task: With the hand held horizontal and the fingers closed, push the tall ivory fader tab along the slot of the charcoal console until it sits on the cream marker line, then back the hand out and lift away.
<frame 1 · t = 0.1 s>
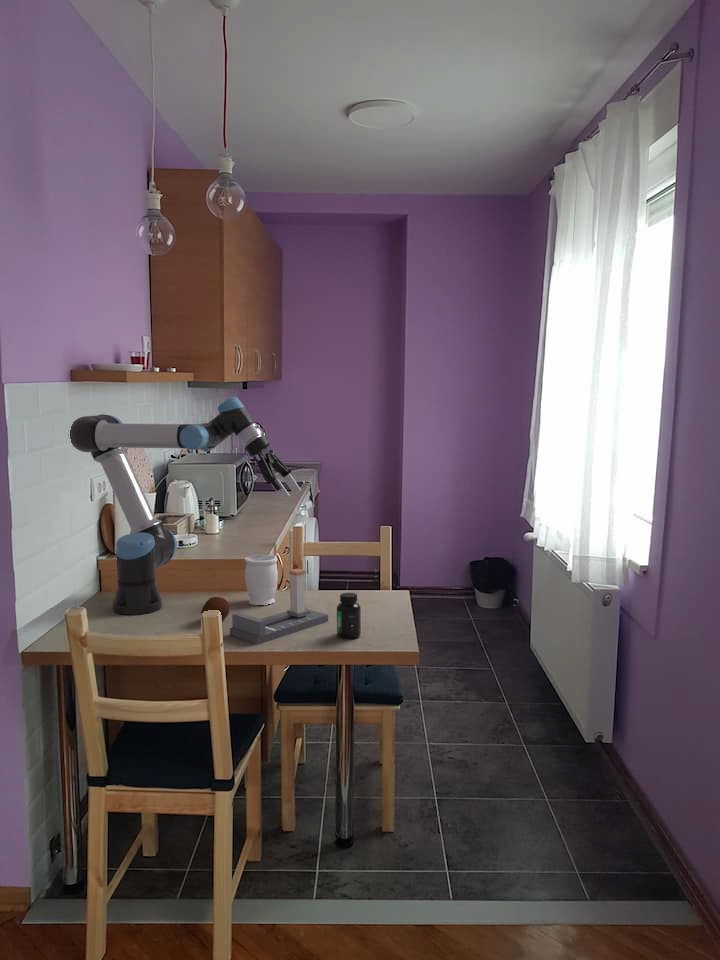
hand: (292, 495, 250), 36 cm above the table, tool tilted 35°, fingers open, 13 cm apart
fader: (297, 592, 234), point 9 cm above the table, slide at 0.0 cm
jar: (261, 603, 256), on the table
supplement bottle: (348, 636, 223), on the table
console: (280, 627, 230), on the table
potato: (216, 622, 236), on the table
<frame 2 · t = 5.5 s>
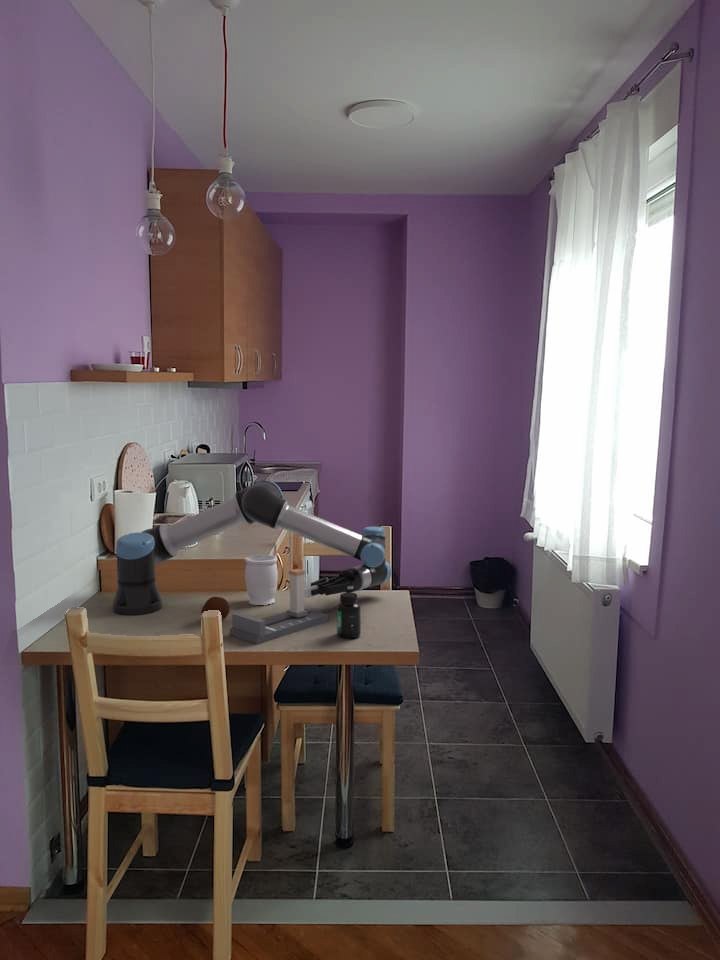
hand: (301, 594, 235), 8 cm above the table, tool horizontal, fingers closed
fader: (296, 592, 234), point 9 cm above the table, slide at 0.1 cm, touching gripper
everything else where it was.
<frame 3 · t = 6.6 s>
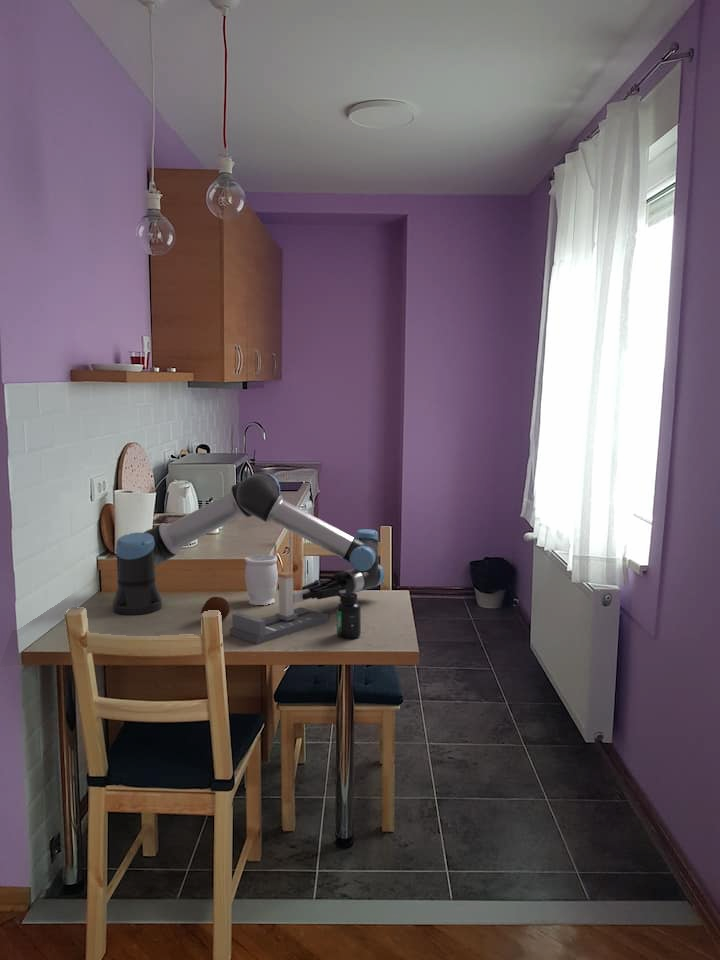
hand: (292, 598, 231), 8 cm above the table, tool horizontal, fingers closed
fader: (286, 595, 230), point 9 cm above the table, slide at 4.5 cm, touching gripper
everything else where it was.
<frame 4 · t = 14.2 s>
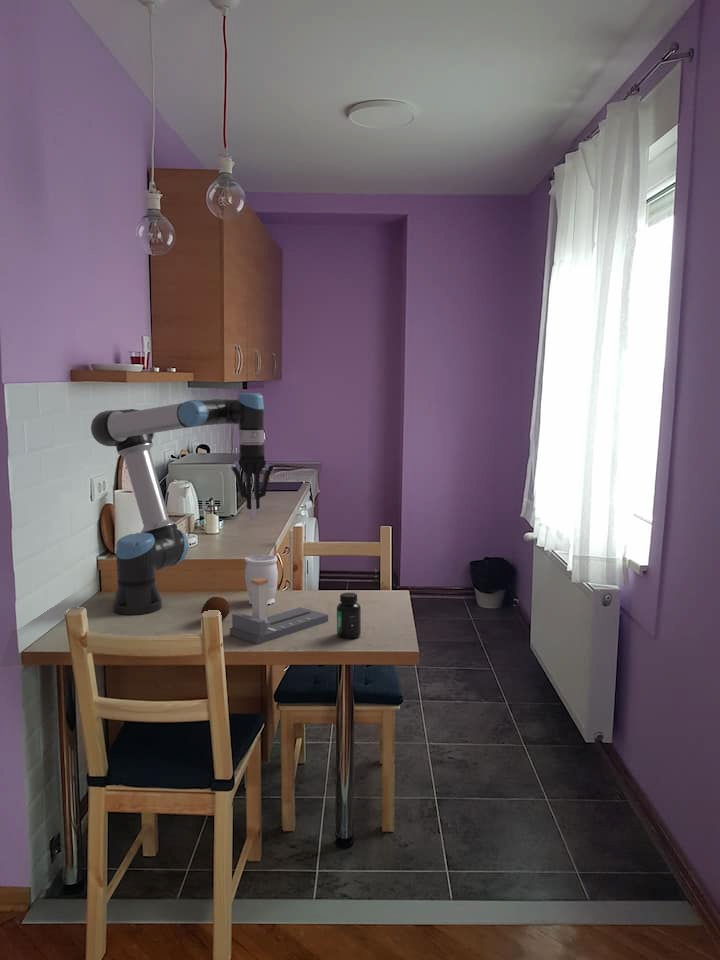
hand: (253, 519, 243), 29 cm above the table, tool pointing down, fingers closed
fader: (259, 602, 223), point 9 cm above the table, slide at 14.8 cm
everything else where it was.
at the end: fader slide at 14.8 cm; fader touching nothing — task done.
